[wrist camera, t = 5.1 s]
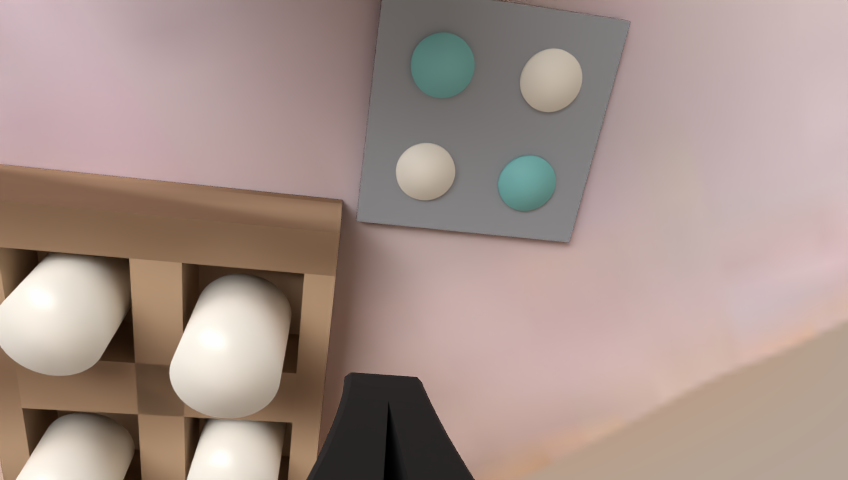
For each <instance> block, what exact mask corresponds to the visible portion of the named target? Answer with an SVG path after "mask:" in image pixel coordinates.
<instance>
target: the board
mask: <svg viewBox="0 0 848 480" xmlns="http://www.w3.org/2000/svg"><path fill="white" fill-rule="evenodd" d="M341 213H342V200H338V199H328V198H319V197H309V196H300V195H290V194H281V193H271V192H261V191H252V190H242V189H233V188H223V187H213V186H204V185H194V184H185V183H175V182H165V181H156V180H146V179H137V178H127V177H118V176H108V175H98V174H89V173H79V172H70V171H60V170H50V169H41V168H31V167H22V166H12V165H3V164H0V305H1V304H2V302H3V301H4V300H5V299H6V298H7V297H8V296H9V295H10V294H11V293H12V292H13V291H14V290H15V289H16V288H17V287H18V285H19V284H20V283H21V282H22V281H23V280H24V279H25V278H26V277H27V276H28V275H29V274H30V273H31V272H32V271H33V270H34V268H35V267H36V266H37V265H38V264H39V263H40V262H41V261H42V260H43V259H44V258H45V257H46V256H47V255H48V254H49V253H50V252H62V253H73V254H85V255H96V256H108V257H119V258H129V262H130V280H131V298H132V306H131V307H130V309H129V311H128V312H127V314H126V316H125V317H124V319H123V321H122V323H121V324H120V326H119V328H118V329H117V331H116V333H115V334H114V336H113V338H112V339H111V341H110V343H109V344H108V346H107V348H106V349H105V351H104V353H103V354H102V356H101V358H100V359H99V360H98V361H97V363H95V364H94V365H93V366H92V367H90V368H89V369H87V370H85V371H83V372H80V373H77V374H73V375H66V376H53V375H46V374H41V373H38V372H35V371H32V370H30V369H27V368H25V367H24V366H22V365H20V364H19V363H17V362H15V361H14V360H13V359H12V358H10V357H9V356H8V355H7V354H6V353H5V351H4V350H3V349H2V348H1V346H0V462H1V467H2V473H3V478H4V480H16V479H17V477H18V475H19V474H20V472H21V471H22V469H23V467H24V466H25V464H26V462H27V461H28V459H29V458H30V456H31V454H32V453H33V451H34V450H35V448H36V446H37V445H38V443H39V441H40V440H41V438H42V437H43V435H44V433H45V432H46V430H47V429H48V427H49V426H50V425H51V423H53V422H54V421H55V420H57V419H58V418H60V417H62V416H64V415H68V414H72V413H79V412H88V413H95V414H100V415H103V416H106V417H109V418H111V419H113V420H115V421H116V422H118V423H119V424H121V425H122V426H123V427H124V428H125V429H126V430H127V431H128V432H129V434H130V435H131V437H132V439H133V442H134V446H135V452H134V456H133V458H132V461H131V463H130V465H129V468H128V470H127V472H126V475H125V477H124V479H123V480H187V477H188V474H189V471H190V468H191V464H192V461H193V458H194V455H195V452H196V449H197V445H198V442H199V439H200V436H201V433H202V429H203V426H204V423H205V420H206V418H216V419H235V420H253V421H272V422H285V423H286V428H285V435H284V441H283V448H282V455H281V461H280V468H279V475H278V480H306V479H307V477H308V475H309V473H310V472H311V470H312V468H313V466H314V464H315V462H316V460H317V451H318V442H319V432H320V422H321V413H322V403H323V393H324V384H325V374H326V365H327V355H328V345H329V336H330V326H331V316H332V307H333V297H334V287H335V278H336V268H337V258H338V249H339V239H340V228H341ZM239 273H241V274H252V275H256V276H259V277H262V278H264V279H266V280H268V281H270V282H272V283H273V284H275V285H276V286H277V287H278V288H279V289H280V290H281V291H282V292H283V293H284V295H285V296H286V298H287V300H288V302H289V304H290V307H291V323H290V329H289V334H288V340H287V346H286V351H285V357H284V362H283V368H282V374H281V379H280V385H279V389H278V391H277V393H276V395H275V397H274V398H273V400H272V401H271V402H270V403H269V404H268V405H267V406H266V407H264V408H263V409H261V410H260V411H258V412H256V413H254V414H251V415H248V416H245V417H240V418H217V417H212V416H208V415H205V414H202V413H200V412H198V411H196V410H194V409H192V408H191V407H189V406H188V405H187V404H185V403H184V402H183V401H182V400H181V399H180V398H179V396H178V395H177V394H176V392H175V391H174V389H173V387H172V384H171V381H170V374H169V372H170V365H171V361H172V359H173V356H174V354H175V352H176V350H177V347H178V345H179V343H180V340H181V338H182V336H183V333H184V331H185V329H186V326H187V324H188V322H189V319H190V317H191V315H192V312H193V310H194V308H195V306H196V303H197V301H198V299H199V296H200V294H201V293H202V291H203V290H204V289H205V288H206V286H208V285H209V284H210V283H211V282H213V281H214V280H216V279H218V278H220V277H223V276H226V275H230V274H239Z"/></svg>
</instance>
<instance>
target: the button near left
mask: <svg viewBox="0 0 848 480" xmlns="http://www.w3.org/2000/svg"><path fill="white" fill-rule="evenodd" d="M131 306H132V298H131V280H130V262H129V258H119V257H108V256H96V255H85V254H73V253H62V252H50V253H49V254H48V255H47V256H46V257H45V258H44V259H43V260H42V261H41V262H40V263H39V264H38V265H37V266H36V267H35V268H34V270H33V271H32V272H31V273H30V274H29V275H28V276H27V277H26V278H25V279H24V280H23V281H22V282H21V283H20V284H19V285H18V287H17V288H16V289H15V290H14V291H13V292H12V293H11V294H10V295H9V296H8V297H7V298H6V299H5V300H4V301H3V302H2V304H1V305H0V346H1V348H2V349H3V350H4V351H5V353H6V354H7V355H8V356H9V357H10V358H12V359H13V360H14V361H15V362H17V363H19V364H20V365H22V366H24V367H25V368H27V369H30V370H32V371H35V372H38V373H41V374H46V375H53V376H66V375H73V374H77V373H80V372H83V371H85V370H87V369H89V368H90V367H92V366H93V365H94V364H95V363H97V361H98V360H99V359H100V358H101V356H102V354H103V353H104V351H105V349H106V348H107V346H108V344H109V343H110V341H111V339H112V338H113V336H114V334H115V333H116V331H117V329H118V328H119V326H120V324H121V323H122V321H123V319H124V317H125V316H126V314H127V312H128V311H129V309H130V307H131Z"/></svg>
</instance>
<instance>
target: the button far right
mask: <svg viewBox="0 0 848 480" xmlns="http://www.w3.org/2000/svg"><path fill="white" fill-rule="evenodd" d="M285 428H286V423H285V422H272V421H253V420H235V419H216V418H206V420H205V423H204V426H203V429H202V433H201V436H200V439H199V442H198V445H197V449H196V452H195V455H194V458H193V461H192V464H191V468H190V471H189V474H188V477H187V480H278V475H279V468H280V461H281V455H282V448H283V441H284V435H285Z"/></svg>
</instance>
